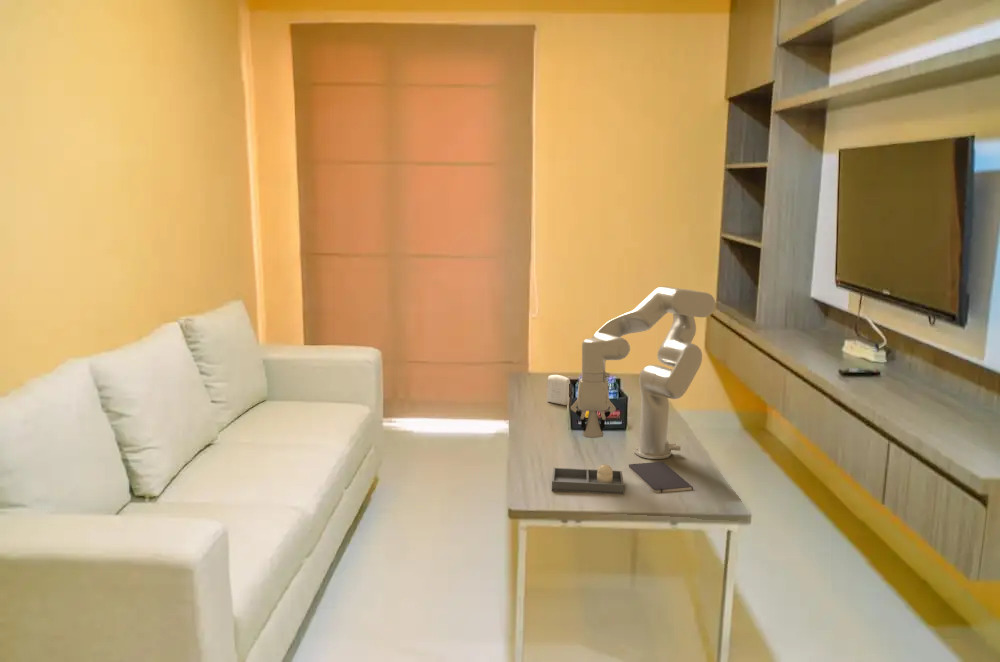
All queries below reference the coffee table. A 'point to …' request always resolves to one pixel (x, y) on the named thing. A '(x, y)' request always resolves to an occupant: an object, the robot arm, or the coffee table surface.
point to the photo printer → (558, 389)
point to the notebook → (659, 477)
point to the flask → (592, 426)
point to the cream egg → (604, 474)
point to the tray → (585, 481)
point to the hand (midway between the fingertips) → (592, 429)
